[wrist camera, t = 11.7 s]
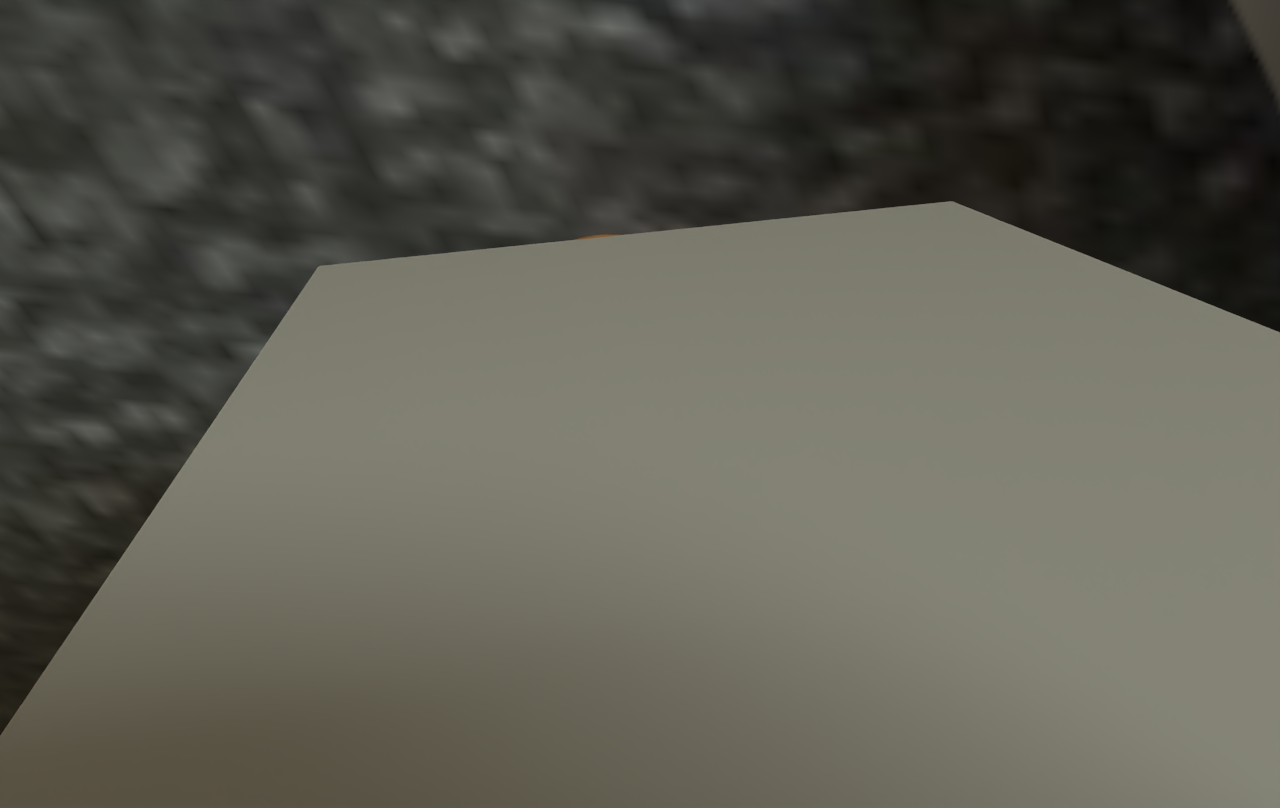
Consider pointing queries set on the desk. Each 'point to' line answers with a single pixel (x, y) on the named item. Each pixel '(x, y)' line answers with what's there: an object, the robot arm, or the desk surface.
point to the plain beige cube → (703, 540)
